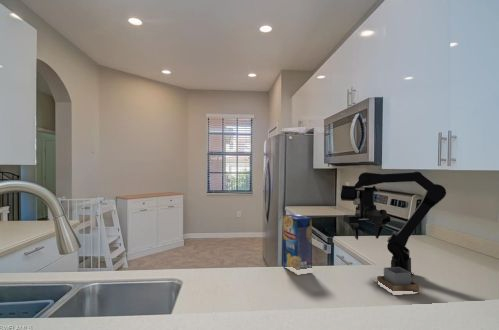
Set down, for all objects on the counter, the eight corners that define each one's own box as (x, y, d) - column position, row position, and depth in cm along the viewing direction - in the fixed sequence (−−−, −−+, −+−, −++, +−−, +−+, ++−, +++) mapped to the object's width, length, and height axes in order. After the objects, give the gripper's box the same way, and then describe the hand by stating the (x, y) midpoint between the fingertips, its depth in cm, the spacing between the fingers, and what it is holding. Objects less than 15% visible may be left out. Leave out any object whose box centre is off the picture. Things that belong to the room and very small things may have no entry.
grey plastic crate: (399, 283, 103) (399, 266, 103) (411, 290, 97) (411, 272, 98) (383, 284, 102) (383, 267, 102) (395, 291, 96) (394, 273, 97)
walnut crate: (400, 282, 105) (400, 274, 105) (418, 293, 96) (418, 284, 96) (377, 284, 104) (377, 276, 104) (393, 295, 95) (393, 286, 95)
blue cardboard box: (297, 264, 125) (296, 214, 126) (312, 273, 115) (311, 218, 116) (283, 267, 123) (283, 215, 123) (297, 275, 113) (297, 219, 113)
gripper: (356, 204, 113) (356, 244, 112) (399, 203, 116) (399, 242, 115) (342, 201, 124) (342, 238, 123) (382, 200, 127) (382, 236, 126)
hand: (367, 238), depth 122 cm, fingers open, 9 cm apart
